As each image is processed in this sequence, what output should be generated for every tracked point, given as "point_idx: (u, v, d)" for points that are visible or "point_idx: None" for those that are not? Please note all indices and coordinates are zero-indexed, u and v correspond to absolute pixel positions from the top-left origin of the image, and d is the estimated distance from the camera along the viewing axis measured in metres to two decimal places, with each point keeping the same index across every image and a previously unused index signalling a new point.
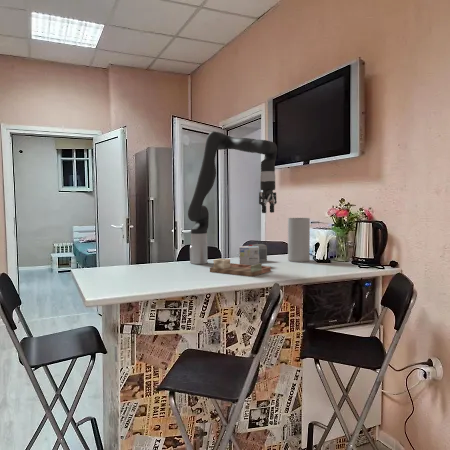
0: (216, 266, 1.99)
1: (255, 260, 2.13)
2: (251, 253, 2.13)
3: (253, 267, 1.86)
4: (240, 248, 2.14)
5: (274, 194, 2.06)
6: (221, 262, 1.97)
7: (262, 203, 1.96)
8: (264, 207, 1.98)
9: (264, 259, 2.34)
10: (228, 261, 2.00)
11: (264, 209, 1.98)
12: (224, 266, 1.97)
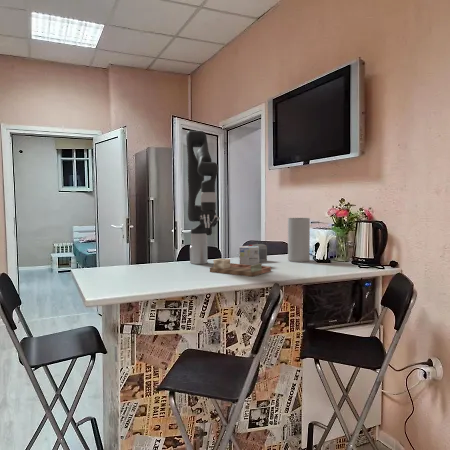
0: (216, 266, 1.99)
1: (255, 260, 2.13)
2: (251, 253, 2.13)
3: (253, 267, 1.86)
4: (240, 248, 2.14)
5: None
6: (221, 262, 1.97)
7: (214, 225, 2.03)
8: None
9: (264, 259, 2.34)
10: (228, 261, 2.00)
11: None
12: (224, 266, 1.97)
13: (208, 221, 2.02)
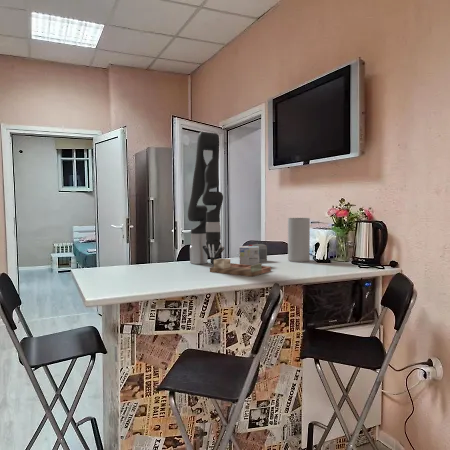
0: (216, 266, 1.99)
1: (255, 260, 2.13)
2: (251, 253, 2.13)
3: (253, 267, 1.86)
4: (240, 248, 2.14)
5: None
6: (221, 262, 1.97)
7: (219, 255, 2.02)
8: None
9: (264, 259, 2.34)
10: (228, 261, 2.00)
11: None
12: (224, 266, 1.97)
13: (213, 251, 2.01)
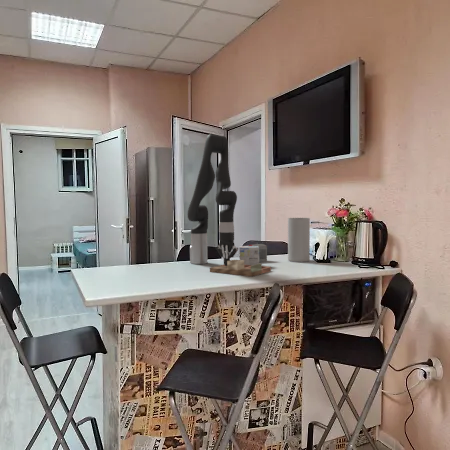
0: (230, 267, 1.94)
1: (255, 260, 2.13)
2: (251, 253, 2.13)
3: (253, 267, 1.86)
4: (240, 248, 2.14)
5: None
6: (235, 263, 1.92)
7: (232, 256, 1.97)
8: None
9: (264, 259, 2.34)
10: (242, 262, 1.95)
11: None
12: (238, 267, 1.93)
13: (226, 252, 1.97)
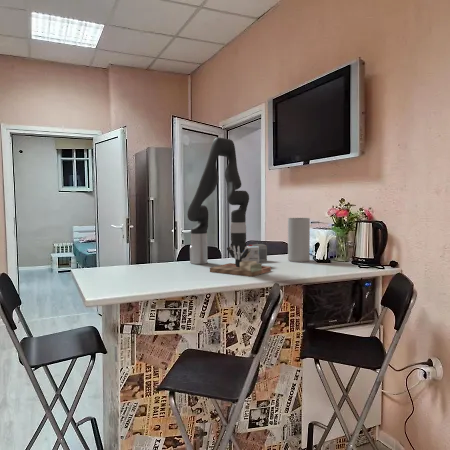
0: (242, 269, 1.91)
1: (255, 260, 2.13)
2: (251, 253, 2.13)
3: (253, 267, 1.86)
4: None
5: None
6: (248, 264, 1.89)
7: (244, 257, 1.93)
8: None
9: (264, 259, 2.34)
10: (255, 263, 1.92)
11: None
12: None
13: (238, 252, 1.93)
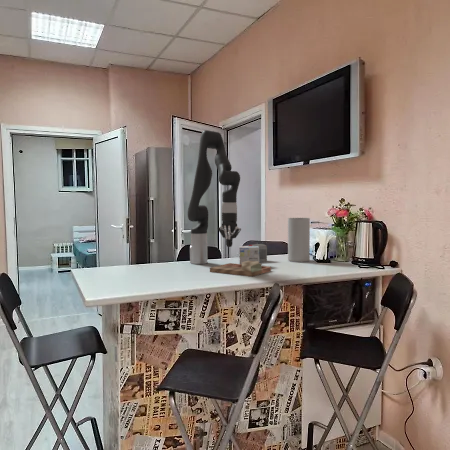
0: (244, 269, 1.90)
1: (255, 260, 2.13)
2: (251, 253, 2.13)
3: (253, 267, 1.86)
4: (240, 248, 2.14)
5: None
6: (250, 265, 1.88)
7: (235, 237, 1.96)
8: (231, 241, 1.97)
9: (264, 259, 2.34)
10: (257, 263, 1.91)
11: (231, 243, 1.97)
12: None
13: (229, 232, 1.95)
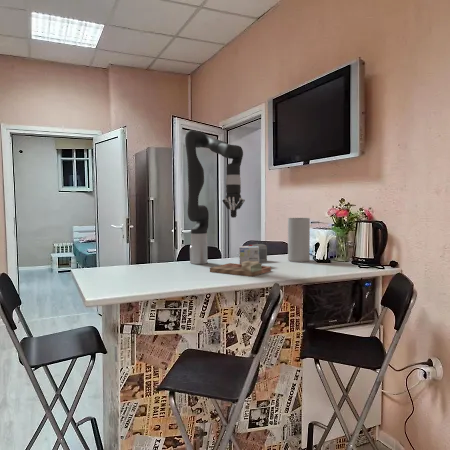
0: (244, 269, 1.90)
1: (255, 260, 2.13)
2: (251, 253, 2.13)
3: (253, 267, 1.86)
4: (240, 248, 2.14)
5: None
6: (250, 265, 1.88)
7: (239, 208, 2.05)
8: None
9: (264, 259, 2.34)
10: (257, 263, 1.91)
11: None
12: None
13: (233, 203, 2.04)
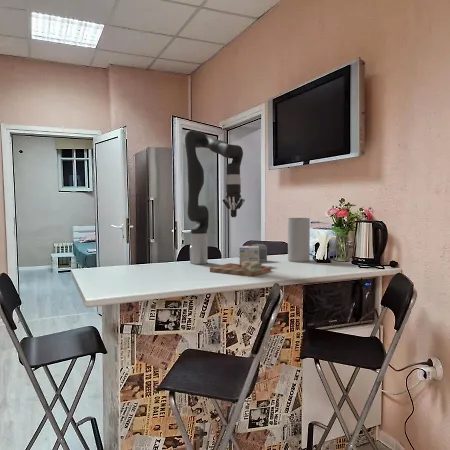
0: (244, 269, 1.90)
1: (255, 260, 2.13)
2: (251, 253, 2.13)
3: (253, 267, 1.86)
4: (240, 248, 2.14)
5: None
6: (250, 265, 1.88)
7: (239, 207, 2.05)
8: None
9: (264, 259, 2.34)
10: (257, 263, 1.91)
11: None
12: None
13: (233, 203, 2.04)
